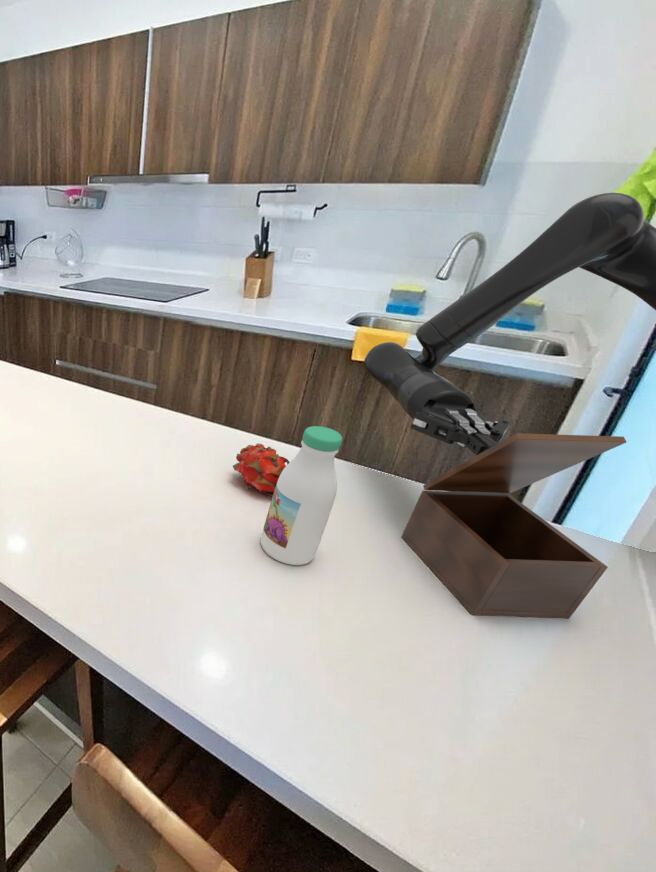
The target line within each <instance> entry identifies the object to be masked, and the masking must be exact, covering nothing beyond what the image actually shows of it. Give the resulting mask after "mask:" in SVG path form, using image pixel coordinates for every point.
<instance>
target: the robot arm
mask: <svg viewBox="0 0 656 872" xmlns="http://www.w3.org/2000/svg"><path fill="white" fill-rule="evenodd" d="M578 268H579V269H582V270H584V271H586V272H589V273H592V274H593V275H596V276H598V277H601V278H602V279H604V280H606V281H609V282H611V283H613V284H614V285H617V286H619V287H621V288H623V289H625V290H627V291H628V292H630V293H631V294H633V295H635V296H636V297H637V298H639V299H641V300H642V301H643V302H644V303H645V304H647V305H648V306H650V307H651V308H652V309H653V310H654V311H656V227H655V226H654V225H653V224H651V223H650V222H649V221H647V220H645V215H644V210H643V206H642V205H641V203H640V201H639V200H638V199H637V198H635V197H634V196H631V195H629V194H626V193H622V192H604V193H600V194H594V195H592V196H588V197H585V198H583V199H582V200H580V201H578V202H577V203H574V205H572V206H571V207H570V208H569V209H567V210H566V211H565V212H564V213H563V214H562V215H561V216H559V218H558V219H556V220H555V221H554V222H553V223H552V224H551V225H550V226H549V227H547V228H546V229H545V231H543V232H542V233H541V234H540V235H539V236H538V237H537V238H536V239H534V240H533V242H531V243H530V244H529V245H528V246H526V247H525V249H523V250H522V251H521V252H520V253H518V254H517V255H516V256H515V257H514V258H512V259H511V260H509V262H507V263H506V264H505V265H504V266H502V267H501V268H499V270H497V271H496V272H494V274H492V275H490V277H488V278H487V279H485V280H484V281H483V282H481V283H479V284H478V285H476V286H475V287H474V288H472V289H471V290H470V291H468V292H466V293H465V294H464V295H463V296H461V297H459V298H458V299H457V300H455V301H454V302H452V303H451V304H450V305H448V306H446V308H444V309H442V310H441V311H439V312H438V313H437V314H435V315H434V316H433V317H431V318H430V319H428V320H426V322H424V323H423V324H422V325H420V326H419V327H418V328H417V329H416V331H415V337H416V339H417V341H418V343H419V344H420V345H421V347H422V349H421V350H420V352H419V353H418V354H417V356H415V357H414V355H412V354H411V353H410V352H409V351H408V350H406V349H405V348H404V347H403V346H402V345H400V344H399V343H397V342H391V341H385V342H382V343H379V344H377V345H374V346H373V347H372V348H371V349H370V350H369V351H368V352H367V353H366V355H365V357H364V361H363V367H364V370H365V371H366V373H367V374H368V375H370V376H371V377H372V378H373V379H374V380H375V381H376V382H378V383H379V384H380V385H381V386H383V388H384V389H386V390H387V391H388V392H389V393H390V394H391V396H392V398H394V400H395V401H396V402H398V404H400V406H401V408H402V410H403V411H404V412H405V413H406V414H407V415H408V416H409V417H410V418H411V419H412V422H411V425H410V427H409V428H410V429H412V430H414V431H416V432H419V433H422V434H424V435H426V436H429V437H431V438H434V439H436V440H438V441H441V442H443V443H445V444H448V445H449V444H450V445H453V444H454V443H456V444H458V445H459V446H461V447H463V448H467V449H468V451H469V450H470V452H471V453H472V454H474V455H475V456H477V455H478V454H480V453H482V452H484V451H485V450H487V449H489V448H491V447H493V446H494V445H496V444H498V443H500V442H502V440H503V438H504V436H505V434H506V433H507V431H508V429H509V426H510V424H511V422H510V421H508V420H506V419H499V420H498V421H497V420H494V421H489V420H488V419H487V417H486V416H485V415H484V414H481V413H479V412H477V411H476V408H475V403H474V401H473V399H472V398H471V397H470V395H468V394H467V393H466V392H465V391H463V390H462V389H460V388H459V387H458V386H457V385H455V384H454V383H452V382H451V381H450V380H448V379H447V378H446V377H443V376H441V375H439V374H438V373H436V372H435V370H436V369H437V368H438V367H439V366H440V365H441V364H442V363H443V362H444V361H445V360H446V359H448V358H449V356H450V355H451V354H453V353H454V352H456V351H457V350H459V349H461V348H462V347H463V346H465V345H467V344H468V343H470V342H471V341H473V340H474V339H476V338H478V337H479V336H480V335H482V334H483V333H485V332H486V331H488V330H489V329H491V328H492V327H493V326H494V325H496V324H497V323H499V322H500V321H501V320H502V319H503V318H505V317H507V315H509V314H510V313H511V312H512V311H513V310H515V309H516V308H517V307H518V306H520V305H521V304H522V303H523V302H525V301H526V300H527V299H528V298H530V297H532V296H533V295H534V294H536V293H537V292H538V291H540V290H541V289H543V288H544V287H546V286H547V285H549V284H551V283H553V282H554V281H555V280H557V279H559V278H561V277H562V276H565V275H566V274H568V273H570V272H572V271H574V270H576V269H578Z"/></svg>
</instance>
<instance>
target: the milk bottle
mask: <svg viewBox="0 0 656 872" xmlns="http://www.w3.org/2000/svg"><path fill="white" fill-rule="evenodd" d="M301 439H302V440H301V442H300V445H301V448H300V450H299V451H298V452H297V454H296V455H295V456H294V458H293V459H291V460H290V461H289V462H290V463H289V464H288V465H287V464H286V467H285V468H284V469H283V471H282V473H281V474H280V477H279V479H278V482H277V485H276V487H275V490H274V491H273V493H274V494H273V496H271V501H270V503H269V507H268V511H267V514H266V518H265V521H264V525H263V528H262V532H261V534H260V535H261V536H260V544H261V545H260V546H261V547H262V549H263V551H264V552H265V553H266V554H267V555H268V556H269V557H271V558H273V559H274V560H276V561H278V562H280V563H282V564H287V565H292V566H303V565H306V564H308V563H310V562H312V561H313V560H314V559H315V556H316V554H317V551H318V548H319V546H320V543H321V540H322V537H323V534H324V532H325V529H326V527H327V524H328V520H329V518H330V515H331V512H332V509H333V506H334V503H335V500H336V496H337V492H338V491H337V490H338V479H337V473H336V468H335V457H336V455H337V454H338V453H339V452H340V451H339V449H340V448H341V445H342V442H343V435H341V434H340V433H339V432H338V431H336V430H335V429H332V428H329V427H326V426H321V425H320V426H319V425H318V426H317V425H312V426H308V427H306V428H305V429H304V431H303V435H302V437H301Z"/></svg>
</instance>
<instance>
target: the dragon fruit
mask: <svg viewBox="0 0 656 872" xmlns="http://www.w3.org/2000/svg"><path fill="white" fill-rule="evenodd" d="M240 449H241V450H240V451H239V453H237V454H236V456H235V459H236V461H237V462H236V463H234V464H233V465H232V468H233V470H234V471H236V472H238V473H239V474H241V476H242V478H243V483H244V487H245V488H246V489H249V488H251V487H252V486H253V487H254V488H255V489H256V490H258V491H259V492H260V493H262V494H263V495H265V496H269V497H273V494H274V490H275V487H276V485H277V482H278V479H279V477H280V474H281V473H282V471H283V469H284V468H285V467H286V466H287V465H288V464H289V463H290V462H291V461H290V460H289V459H288V458H287V457H284V456H280V455H279V454H278V453H277V450H276V449H275V448H272V447H271V446H267V447H265V445H264V444H262V443H256V444H255V445H252V444H248V445H247V446H246V447H243V448H240ZM285 463H286V464H285Z"/></svg>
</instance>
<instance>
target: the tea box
mask: <svg viewBox="0 0 656 872" xmlns="http://www.w3.org/2000/svg"><path fill="white" fill-rule="evenodd" d="M418 497H419V498H418V500H417V501H416V504H415V506H414V508H413V510H412V513H411V515H410V517H409V519H408V521H407V523H406V525H405V527H404V530H403V532H402V534H401V537H400V538H402V539H403V541H404V542H405V543H406V544H407V545H408V547H410V549H411V550H412V551H414V553H415V554H416V555H417V556H418V557H419V558H420V560H421V561H422V562H423V563H424V564H425V565H426V566H427V567H428V569H430V571H431V572H432V573H433V574H434V575H435V576H436V577H437V578H438V579H439V581H440V582H441V583H442V584H443V585H444V586H445V587H446V588H447V590H449V592H450V593H451V594H452V595H453V596H454V597H455V598H456V600H458V601H459V603H460V604H461V605H462V606H463V607H464V608H465V610H467V612H468V613H469V614H470V615H472V616H496V617H497V616H499V617H523V618H524V617H525V618H526V617H528V618H529V617H530V618H555V619H556V618H558V619H570V618H571V617H572V615H573V614H574V613H575V612H576V610H578V608H579V607H580V605H581V604H582V603H583V601H584V600H585V598H586V597H587V596H588V594H589V593H590V592H591V590H592V589H593V588H594V586H595V585H596V584H597V583H598V581H599V580H600V579H601V577H602V576H603V575H604V573H605V571H606V570H607V569H608V568H609V567H608V566H607V565H606V564H605V563H603V562H602V561H601V560H599V559H598V558H596V557H595V556H594V555H593V554H591V553H590V552H588V551H587V550H585V549H584V548H583V547H582V546H581V545H579V544H578V543H576V542H575V541H573V540H572V539H571V538H569V537H568V536H567V535H566V534H564V533H563V532H561V531H560V530H559V529H558V528H556V527H555V526H554V525H552V524H551V523H549V522H548V521H546V520H545V519H544V518H542V517H541V516H540V515H538V514H537V513H535V512H534V511H533V510H531V509H530V508H529V507H528V506H526V505H524V503H522V502H521V501H519V500H518V499H516V498H515V496H513V495H512V494H511V493H495V492H464V491H433V490H422V491H421V493H420V495H419V496H418Z"/></svg>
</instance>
